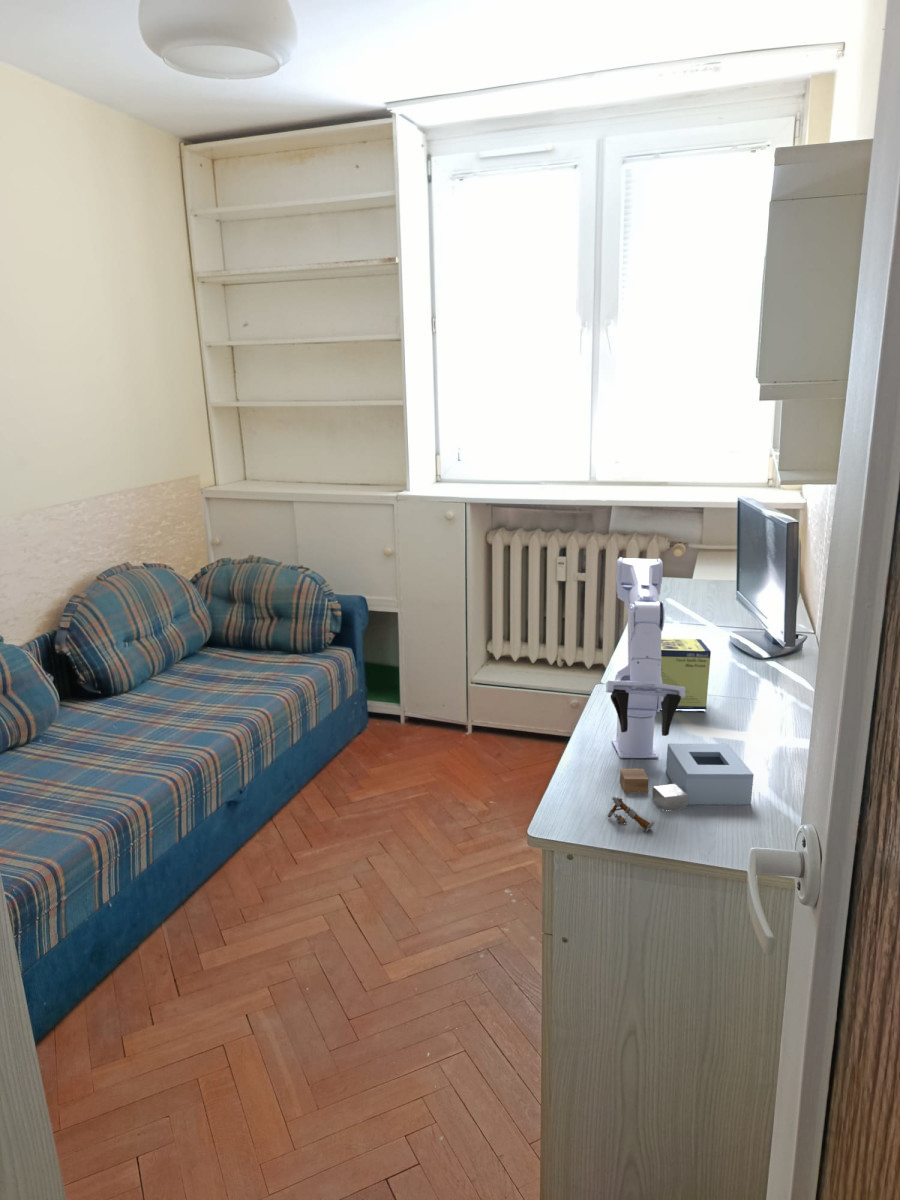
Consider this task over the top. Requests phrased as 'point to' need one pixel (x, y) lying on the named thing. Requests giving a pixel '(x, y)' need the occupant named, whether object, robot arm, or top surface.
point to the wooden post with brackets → (630, 812)
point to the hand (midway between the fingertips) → (644, 733)
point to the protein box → (686, 669)
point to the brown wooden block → (634, 780)
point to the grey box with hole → (709, 774)
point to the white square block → (669, 797)
